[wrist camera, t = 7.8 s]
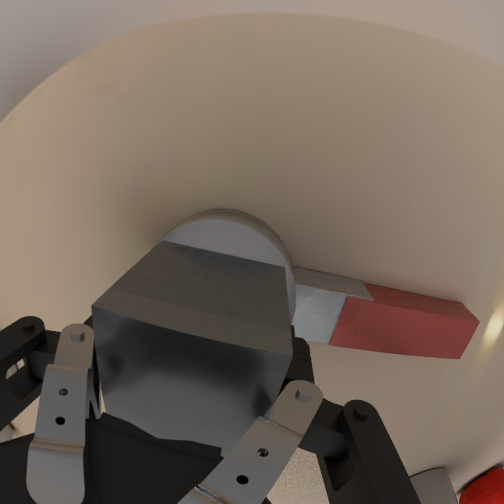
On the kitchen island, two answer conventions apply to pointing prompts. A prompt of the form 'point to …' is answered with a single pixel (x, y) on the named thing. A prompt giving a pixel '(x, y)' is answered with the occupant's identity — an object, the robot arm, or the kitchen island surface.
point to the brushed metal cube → (193, 343)
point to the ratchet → (337, 295)
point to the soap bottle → (6, 434)
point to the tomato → (485, 489)
